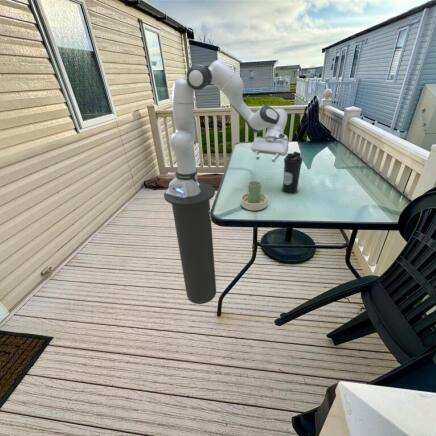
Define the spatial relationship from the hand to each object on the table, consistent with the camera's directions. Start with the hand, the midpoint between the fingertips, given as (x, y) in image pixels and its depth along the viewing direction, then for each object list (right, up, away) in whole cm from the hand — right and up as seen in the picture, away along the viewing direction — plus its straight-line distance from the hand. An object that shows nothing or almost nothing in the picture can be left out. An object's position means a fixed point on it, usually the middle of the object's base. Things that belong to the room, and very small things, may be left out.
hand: (265, 160), depth 132 cm
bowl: (-6, -24, +2) cm, 25 cm away
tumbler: (-6, -24, +2) cm, 24 cm away
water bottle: (+18, -15, +17) cm, 29 cm away
